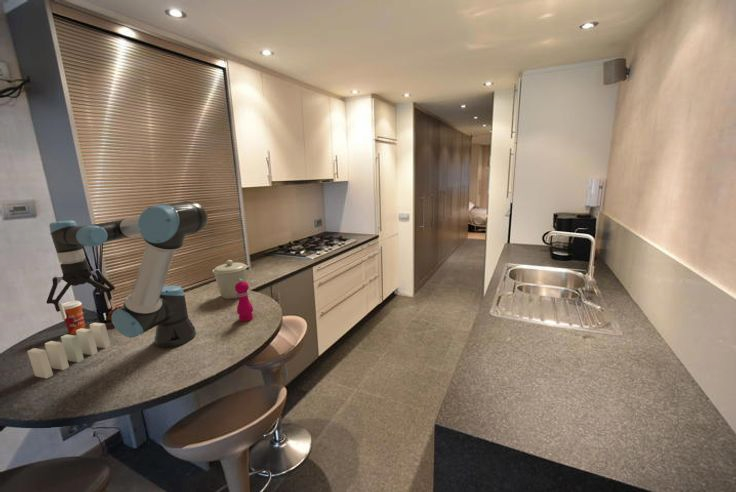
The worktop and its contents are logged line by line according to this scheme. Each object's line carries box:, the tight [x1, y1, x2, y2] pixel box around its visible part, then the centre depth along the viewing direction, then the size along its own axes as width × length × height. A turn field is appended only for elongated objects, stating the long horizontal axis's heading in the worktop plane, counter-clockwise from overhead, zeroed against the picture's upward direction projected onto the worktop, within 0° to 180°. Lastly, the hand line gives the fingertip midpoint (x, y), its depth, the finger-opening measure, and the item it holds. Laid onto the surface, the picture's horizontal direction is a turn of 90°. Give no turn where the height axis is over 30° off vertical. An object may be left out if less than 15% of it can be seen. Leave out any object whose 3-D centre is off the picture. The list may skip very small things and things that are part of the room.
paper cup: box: [62, 300, 86, 336], centre depth 146 cm, size 8×8×14 cm
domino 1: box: [26, 347, 54, 379], centre depth 114 cm, size 6×2×10 cm, turn 73°
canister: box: [212, 259, 248, 300], centre depth 181 cm, size 18×18×21 cm
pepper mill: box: [235, 279, 254, 322], centre depth 151 cm, size 7×7×20 cm
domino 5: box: [89, 322, 111, 349], centre depth 133 cm, size 6×2×10 cm, turn 73°
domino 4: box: [75, 328, 99, 356], centre depth 128 cm, size 6×2×10 cm, turn 73°
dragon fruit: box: [105, 305, 123, 324], centre depth 156 cm, size 8×8×12 cm
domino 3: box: [60, 333, 85, 363], centre depth 123 cm, size 6×2×10 cm, turn 73°
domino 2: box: [44, 340, 70, 371], centre depth 119 cm, size 6×2×10 cm, turn 73°
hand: (87, 312), depth 128 cm, fingers open, 13 cm apart
